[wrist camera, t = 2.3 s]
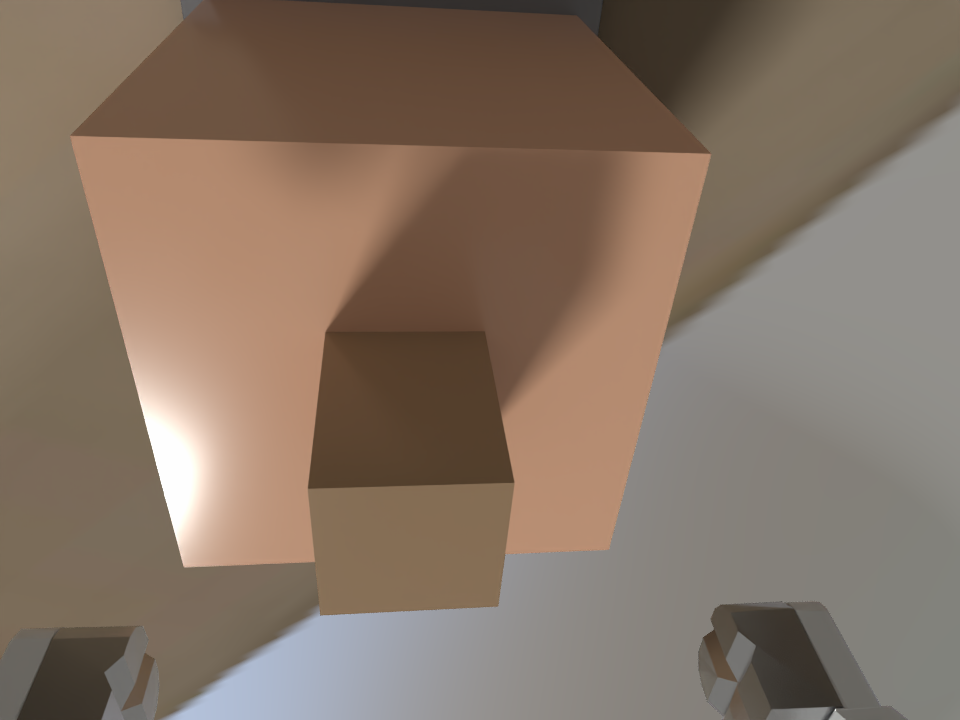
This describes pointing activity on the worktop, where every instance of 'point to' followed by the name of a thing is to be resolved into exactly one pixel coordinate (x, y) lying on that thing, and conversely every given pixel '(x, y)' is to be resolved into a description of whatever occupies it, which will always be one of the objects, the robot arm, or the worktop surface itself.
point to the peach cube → (389, 285)
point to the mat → (478, 6)
